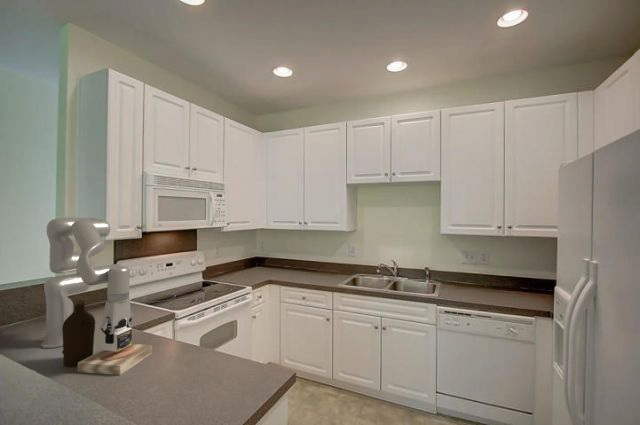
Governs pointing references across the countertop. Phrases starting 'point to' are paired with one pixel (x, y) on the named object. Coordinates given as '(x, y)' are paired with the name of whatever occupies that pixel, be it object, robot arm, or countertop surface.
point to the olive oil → (78, 335)
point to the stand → (115, 360)
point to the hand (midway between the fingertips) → (117, 338)
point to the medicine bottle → (119, 337)
